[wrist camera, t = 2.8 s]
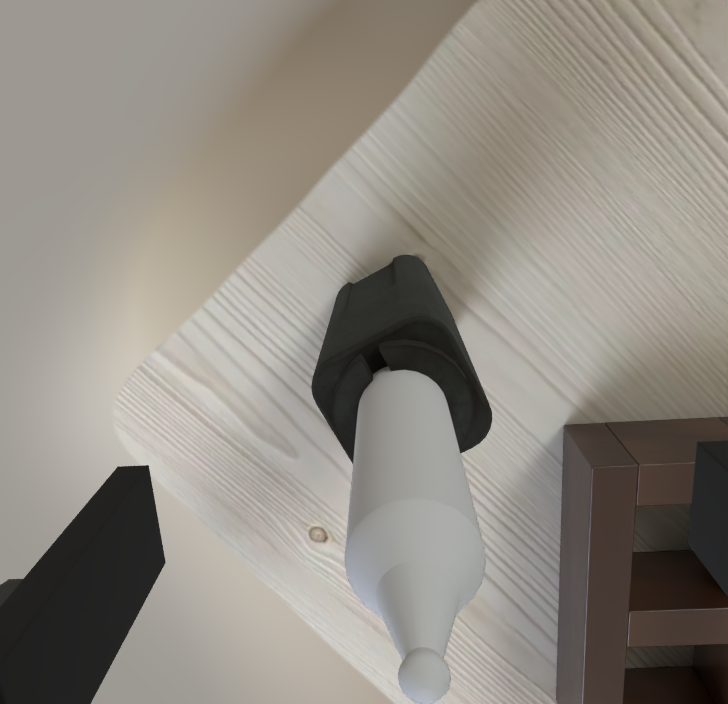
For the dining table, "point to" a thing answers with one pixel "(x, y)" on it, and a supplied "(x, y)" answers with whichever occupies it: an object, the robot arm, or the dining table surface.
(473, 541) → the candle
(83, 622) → the robot arm
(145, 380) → the dining table surface
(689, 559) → the rack
